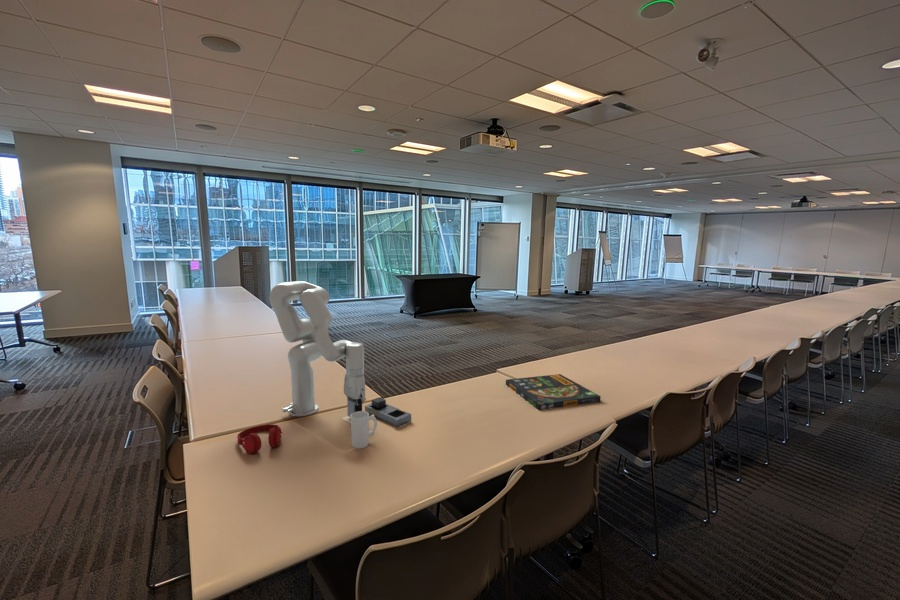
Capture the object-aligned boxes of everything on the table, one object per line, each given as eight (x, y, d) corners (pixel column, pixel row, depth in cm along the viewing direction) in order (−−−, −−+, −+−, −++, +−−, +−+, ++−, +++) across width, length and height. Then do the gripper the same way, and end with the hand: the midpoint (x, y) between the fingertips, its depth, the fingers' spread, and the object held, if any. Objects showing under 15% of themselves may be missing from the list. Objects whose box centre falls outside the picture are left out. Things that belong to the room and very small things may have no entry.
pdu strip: (397, 428, 159) (397, 413, 158) (364, 413, 173) (364, 399, 172) (411, 421, 165) (411, 407, 164) (378, 407, 179) (378, 394, 178)
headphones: (287, 446, 143) (275, 433, 159) (286, 427, 142) (274, 416, 158) (243, 459, 134) (235, 443, 150) (241, 439, 134) (233, 425, 150)
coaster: (354, 426, 160) (354, 425, 160) (340, 419, 166) (340, 418, 166) (372, 418, 167) (372, 417, 167) (359, 412, 174) (359, 411, 174)
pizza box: (505, 385, 211) (505, 379, 211) (559, 380, 222) (560, 374, 221) (538, 411, 178) (538, 404, 178) (600, 403, 188) (600, 396, 188)
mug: (353, 450, 140) (353, 420, 139) (349, 442, 146) (348, 413, 145) (379, 444, 145) (379, 414, 144) (374, 436, 151) (374, 408, 150)
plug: (353, 418, 164) (353, 399, 163) (347, 415, 167) (347, 396, 165) (362, 415, 167) (362, 396, 166) (356, 412, 170) (356, 393, 169)
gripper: (336, 368, 167) (336, 407, 169) (359, 378, 156) (359, 419, 158) (350, 364, 172) (350, 403, 175) (374, 373, 162) (373, 414, 164)
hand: (354, 410), depth 167 cm, fingers closed on plug, 4 cm apart
